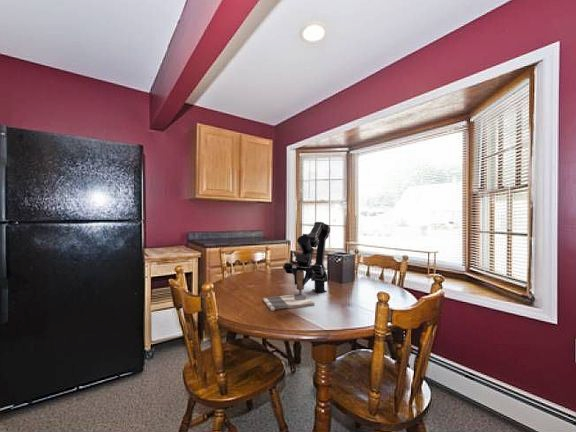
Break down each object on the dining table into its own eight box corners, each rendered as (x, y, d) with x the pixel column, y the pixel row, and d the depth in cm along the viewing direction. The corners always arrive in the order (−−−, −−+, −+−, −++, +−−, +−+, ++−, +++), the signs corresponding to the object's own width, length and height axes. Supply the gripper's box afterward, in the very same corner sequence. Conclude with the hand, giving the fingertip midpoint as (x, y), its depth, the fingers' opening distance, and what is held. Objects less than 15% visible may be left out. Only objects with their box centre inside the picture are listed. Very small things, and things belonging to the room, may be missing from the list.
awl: (292, 297, 132) (292, 270, 132) (303, 296, 134) (303, 270, 134) (296, 301, 127) (296, 273, 126) (308, 299, 129) (308, 272, 128)
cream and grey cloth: (263, 300, 146) (263, 297, 146) (302, 295, 153) (302, 293, 153) (271, 310, 131) (271, 308, 130) (314, 305, 138) (314, 302, 138)
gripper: (284, 246, 137) (275, 273, 127) (321, 248, 130) (315, 277, 120) (290, 259, 144) (282, 286, 134) (325, 261, 137) (320, 290, 128)
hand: (299, 284), depth 129 cm, fingers closed on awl, 3 cm apart
